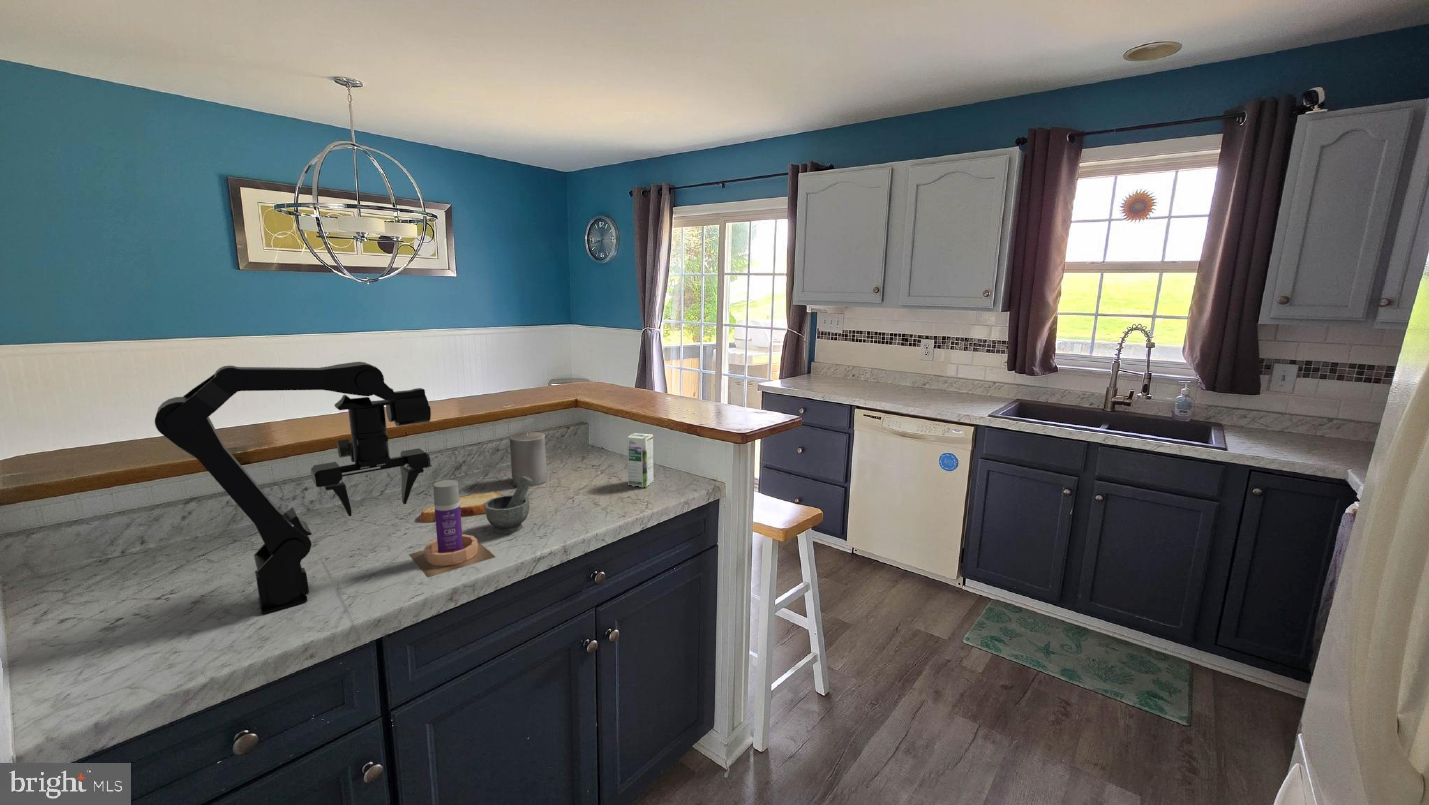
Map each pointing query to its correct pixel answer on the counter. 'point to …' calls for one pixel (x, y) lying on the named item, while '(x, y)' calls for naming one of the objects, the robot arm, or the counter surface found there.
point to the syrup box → (640, 459)
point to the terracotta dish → (452, 557)
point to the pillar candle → (528, 457)
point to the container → (448, 516)
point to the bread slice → (463, 506)
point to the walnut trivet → (435, 570)
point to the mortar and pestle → (509, 509)
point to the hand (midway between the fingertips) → (377, 509)
